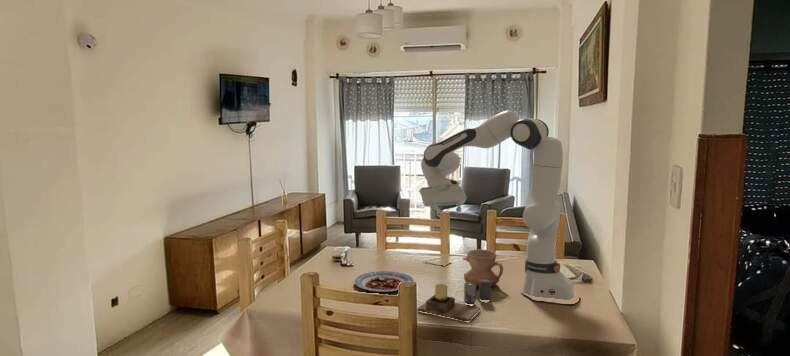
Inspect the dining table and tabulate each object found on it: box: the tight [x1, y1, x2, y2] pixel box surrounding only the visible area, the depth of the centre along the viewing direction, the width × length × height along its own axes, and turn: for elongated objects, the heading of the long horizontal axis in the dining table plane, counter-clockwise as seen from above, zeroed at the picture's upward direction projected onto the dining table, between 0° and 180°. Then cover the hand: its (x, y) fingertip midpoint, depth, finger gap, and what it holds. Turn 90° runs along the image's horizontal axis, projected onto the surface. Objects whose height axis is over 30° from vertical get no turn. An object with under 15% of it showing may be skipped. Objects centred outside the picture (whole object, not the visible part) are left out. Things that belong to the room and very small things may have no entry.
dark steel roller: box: [463, 281, 477, 304], centre depth 188 cm, size 4×4×8 cm
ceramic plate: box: [354, 270, 415, 293], centre depth 211 cm, size 26×26×3 cm
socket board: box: [417, 294, 481, 322], centre depth 181 cm, size 20×12×4 cm, turn 61°
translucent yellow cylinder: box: [434, 283, 448, 304], centre depth 181 cm, size 4×4×8 cm
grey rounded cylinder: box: [478, 279, 492, 300], centre depth 191 cm, size 4×4×8 cm
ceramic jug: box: [462, 249, 504, 288], centre depth 209 cm, size 18×14×14 cm
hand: (450, 212), depth 209 cm, fingers open, 8 cm apart
